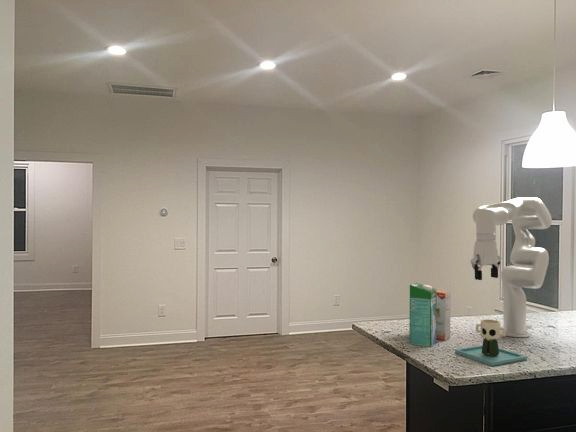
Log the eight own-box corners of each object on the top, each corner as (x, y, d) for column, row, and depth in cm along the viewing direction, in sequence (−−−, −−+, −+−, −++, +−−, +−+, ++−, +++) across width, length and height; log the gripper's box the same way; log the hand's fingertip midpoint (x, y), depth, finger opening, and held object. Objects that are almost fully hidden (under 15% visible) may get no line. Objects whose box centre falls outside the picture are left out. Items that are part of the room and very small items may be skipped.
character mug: (472, 354, 179) (472, 320, 179) (478, 350, 184) (478, 317, 185) (502, 359, 172) (502, 324, 172) (507, 355, 177) (508, 321, 178)
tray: (487, 348, 190) (487, 344, 190) (526, 360, 174) (526, 356, 174) (454, 353, 182) (454, 349, 182) (492, 366, 166) (492, 362, 166)
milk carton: (430, 347, 191) (431, 286, 191) (409, 343, 196) (409, 284, 196) (436, 342, 198) (436, 283, 199) (415, 339, 203) (415, 282, 203)
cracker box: (415, 335, 210) (415, 289, 210) (421, 333, 214) (421, 287, 214) (444, 341, 200) (445, 292, 200) (450, 338, 205) (450, 291, 205)
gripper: (492, 236, 201) (493, 275, 201) (464, 238, 193) (464, 279, 193) (507, 237, 194) (508, 277, 194) (478, 239, 186) (479, 281, 187)
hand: (486, 278), depth 194 cm, fingers open, 9 cm apart
